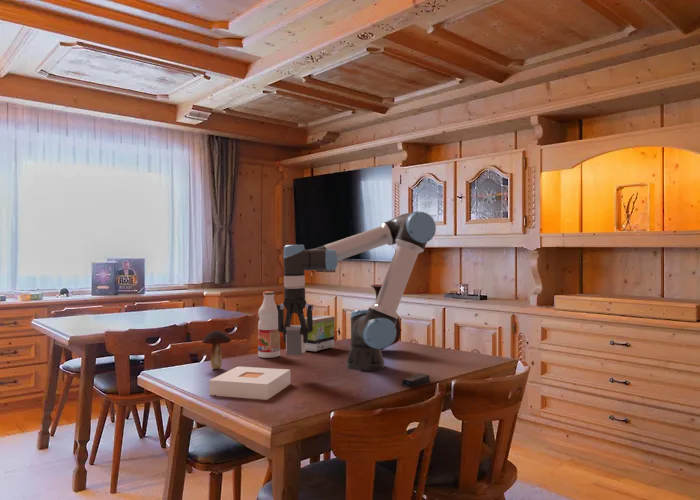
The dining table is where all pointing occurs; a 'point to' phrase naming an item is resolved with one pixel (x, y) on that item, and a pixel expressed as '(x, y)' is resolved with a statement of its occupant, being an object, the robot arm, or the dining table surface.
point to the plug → (294, 340)
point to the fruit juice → (268, 328)
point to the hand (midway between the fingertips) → (295, 351)
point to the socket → (250, 383)
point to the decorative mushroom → (216, 347)
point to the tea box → (321, 333)
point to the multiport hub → (415, 380)
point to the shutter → (252, 375)
